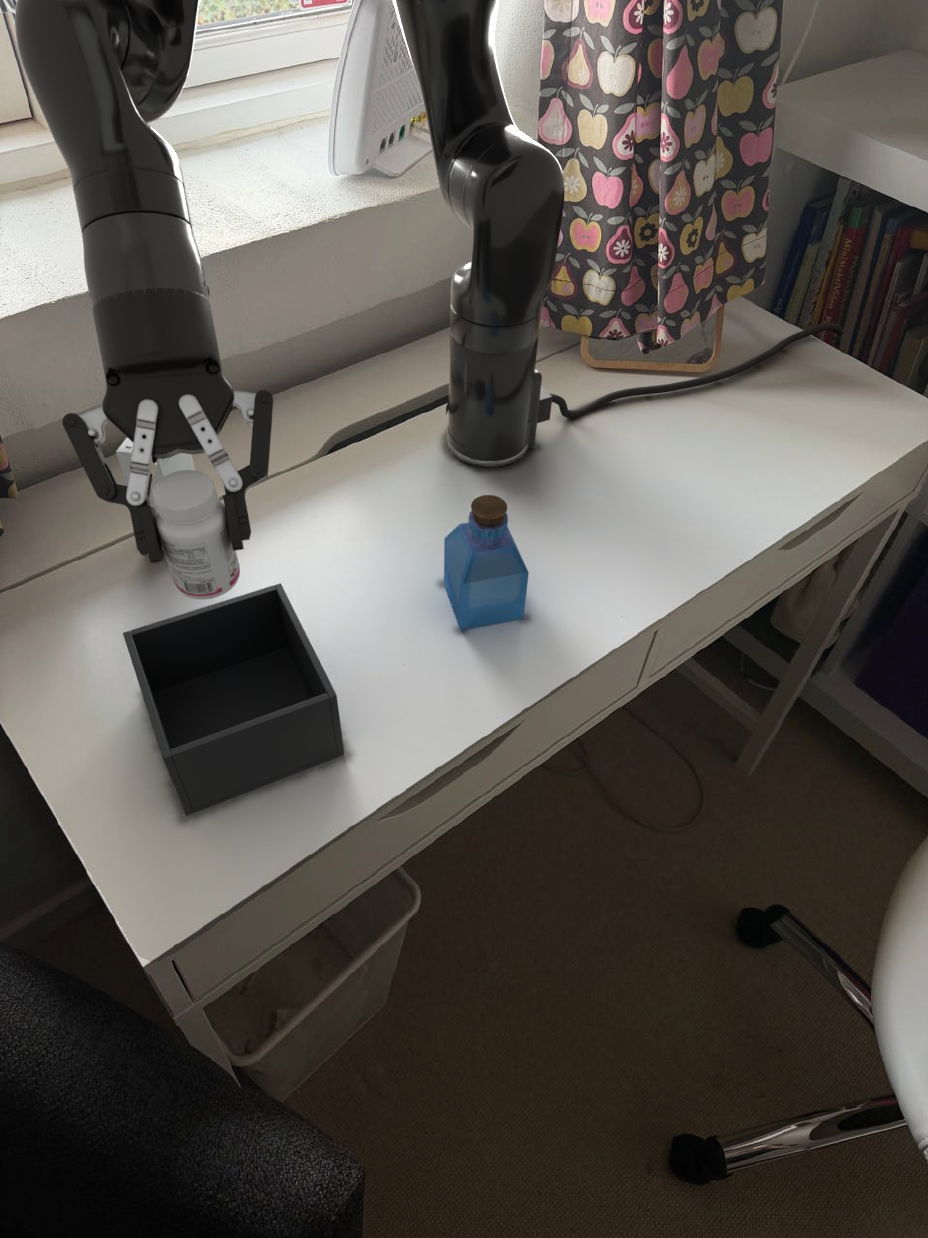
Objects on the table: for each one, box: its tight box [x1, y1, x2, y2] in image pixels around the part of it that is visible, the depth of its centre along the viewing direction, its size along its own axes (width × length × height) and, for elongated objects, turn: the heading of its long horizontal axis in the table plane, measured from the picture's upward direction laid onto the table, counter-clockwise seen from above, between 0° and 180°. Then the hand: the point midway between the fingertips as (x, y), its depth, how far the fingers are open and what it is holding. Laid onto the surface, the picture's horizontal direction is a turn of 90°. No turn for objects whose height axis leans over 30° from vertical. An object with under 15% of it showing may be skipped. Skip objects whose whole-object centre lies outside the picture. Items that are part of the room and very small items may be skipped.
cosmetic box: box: [115, 436, 196, 549], centre depth 86 cm, size 6×4×12 cm
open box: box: [122, 583, 345, 816], centre depth 72 cm, size 13×13×8 cm
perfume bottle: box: [443, 494, 530, 631], centre depth 81 cm, size 6×6×12 cm
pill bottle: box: [152, 470, 241, 601], centre depth 61 cm, size 5×5×8 cm
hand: (198, 554), depth 60 cm, fingers closed on pill bottle, 4 cm apart
